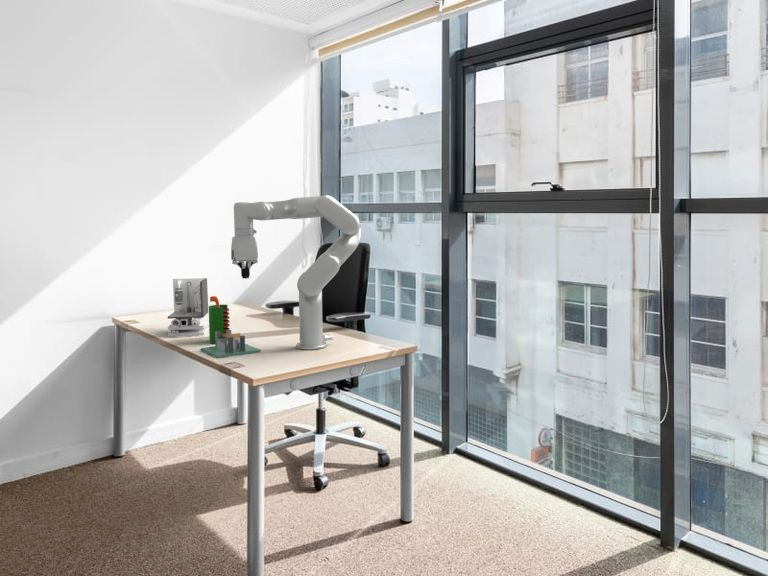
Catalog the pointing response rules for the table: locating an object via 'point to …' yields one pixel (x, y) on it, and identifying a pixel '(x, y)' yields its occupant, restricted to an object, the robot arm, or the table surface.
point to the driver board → (231, 349)
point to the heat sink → (226, 342)
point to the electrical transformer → (189, 307)
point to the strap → (230, 335)
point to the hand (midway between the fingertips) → (245, 278)
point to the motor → (217, 319)
